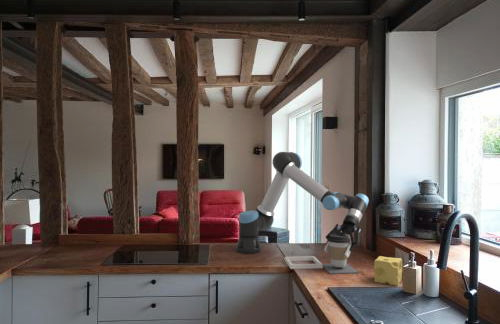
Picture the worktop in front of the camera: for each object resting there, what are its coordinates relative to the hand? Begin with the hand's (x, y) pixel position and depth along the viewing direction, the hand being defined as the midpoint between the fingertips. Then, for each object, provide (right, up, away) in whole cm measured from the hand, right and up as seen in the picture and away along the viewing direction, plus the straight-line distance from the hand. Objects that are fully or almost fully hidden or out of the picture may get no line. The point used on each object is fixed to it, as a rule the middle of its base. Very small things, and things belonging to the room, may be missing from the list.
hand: (335, 253), depth 185 cm
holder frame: (-15, -8, +10) cm, 20 cm away
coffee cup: (+2, -6, +2) cm, 7 cm away
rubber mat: (+2, -8, +2) cm, 9 cm away
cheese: (+20, -8, -17) cm, 27 cm away
